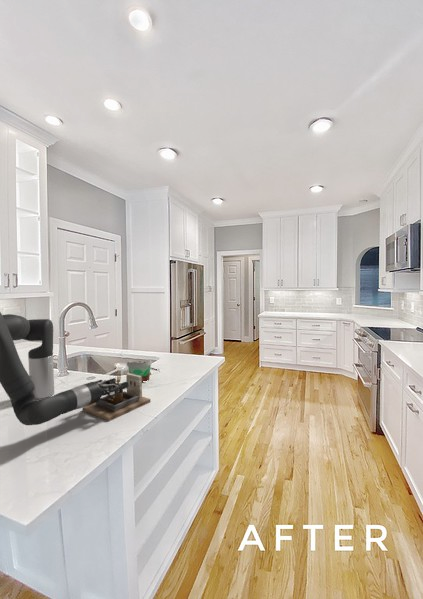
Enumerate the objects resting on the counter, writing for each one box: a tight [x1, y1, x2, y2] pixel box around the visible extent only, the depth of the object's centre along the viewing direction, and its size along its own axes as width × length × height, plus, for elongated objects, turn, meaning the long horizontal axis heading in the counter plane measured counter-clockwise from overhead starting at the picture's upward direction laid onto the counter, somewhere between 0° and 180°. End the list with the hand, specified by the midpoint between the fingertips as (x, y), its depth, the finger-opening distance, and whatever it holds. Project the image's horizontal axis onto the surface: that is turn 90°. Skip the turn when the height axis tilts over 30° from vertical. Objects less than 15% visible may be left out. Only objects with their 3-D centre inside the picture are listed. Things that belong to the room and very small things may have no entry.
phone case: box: [150, 366, 162, 374], centre depth 164 cm, size 7×1×15 cm
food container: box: [126, 359, 153, 383], centre depth 145 cm, size 12×6×10 cm, turn 105°
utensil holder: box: [106, 373, 123, 405], centre depth 116 cm, size 6×6×12 cm
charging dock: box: [81, 372, 151, 422], centre depth 116 cm, size 20×16×10 cm
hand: (121, 382), depth 118 cm, fingers open, 7 cm apart
